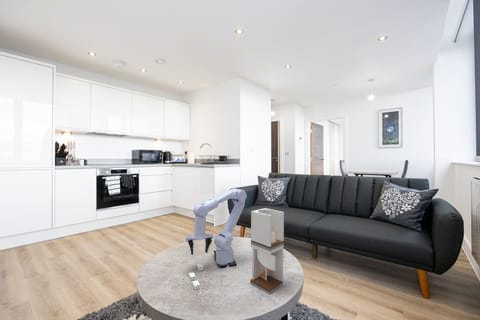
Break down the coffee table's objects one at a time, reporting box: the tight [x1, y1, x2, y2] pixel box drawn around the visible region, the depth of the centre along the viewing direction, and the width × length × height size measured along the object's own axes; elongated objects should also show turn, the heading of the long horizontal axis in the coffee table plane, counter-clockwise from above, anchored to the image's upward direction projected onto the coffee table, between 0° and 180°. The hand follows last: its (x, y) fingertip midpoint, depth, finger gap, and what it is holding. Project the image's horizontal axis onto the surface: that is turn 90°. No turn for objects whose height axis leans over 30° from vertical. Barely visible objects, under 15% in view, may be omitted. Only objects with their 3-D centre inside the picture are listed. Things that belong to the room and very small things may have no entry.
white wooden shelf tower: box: [249, 207, 285, 295], centre depth 106 cm, size 11×11×35 cm
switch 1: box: [188, 272, 196, 282], centre depth 107 cm, size 2×4×2 cm, turn 25°
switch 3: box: [196, 263, 204, 271], centre depth 117 cm, size 2×4×2 cm, turn 25°
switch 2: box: [191, 279, 201, 291], centre depth 100 cm, size 2×4×2 cm, turn 25°
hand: (199, 253), depth 117 cm, fingers open, 7 cm apart
